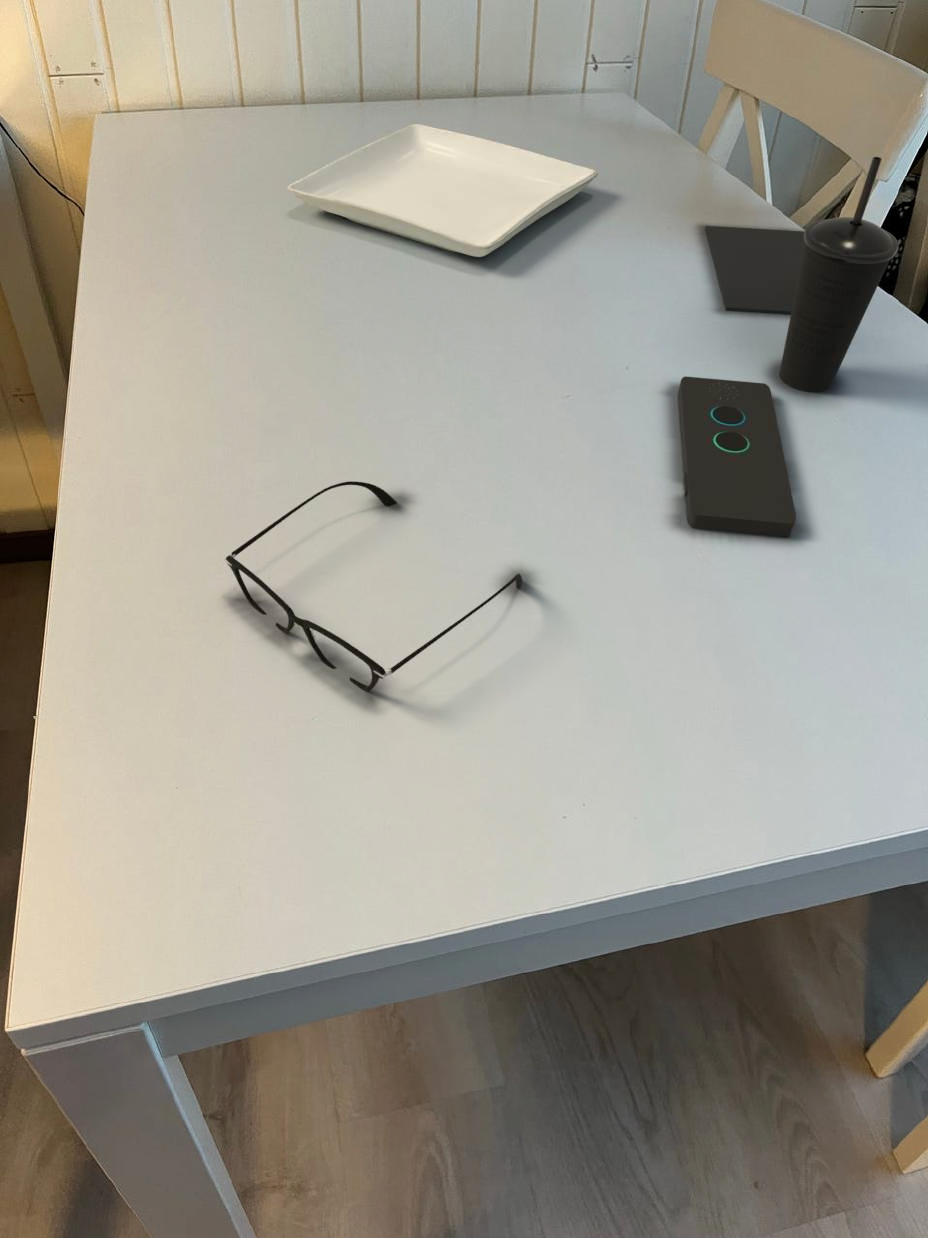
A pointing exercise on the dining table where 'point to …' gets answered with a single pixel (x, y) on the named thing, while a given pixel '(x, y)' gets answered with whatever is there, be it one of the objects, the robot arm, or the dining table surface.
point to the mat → (756, 267)
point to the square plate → (443, 188)
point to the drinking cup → (833, 292)
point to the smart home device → (733, 458)
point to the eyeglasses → (306, 625)
